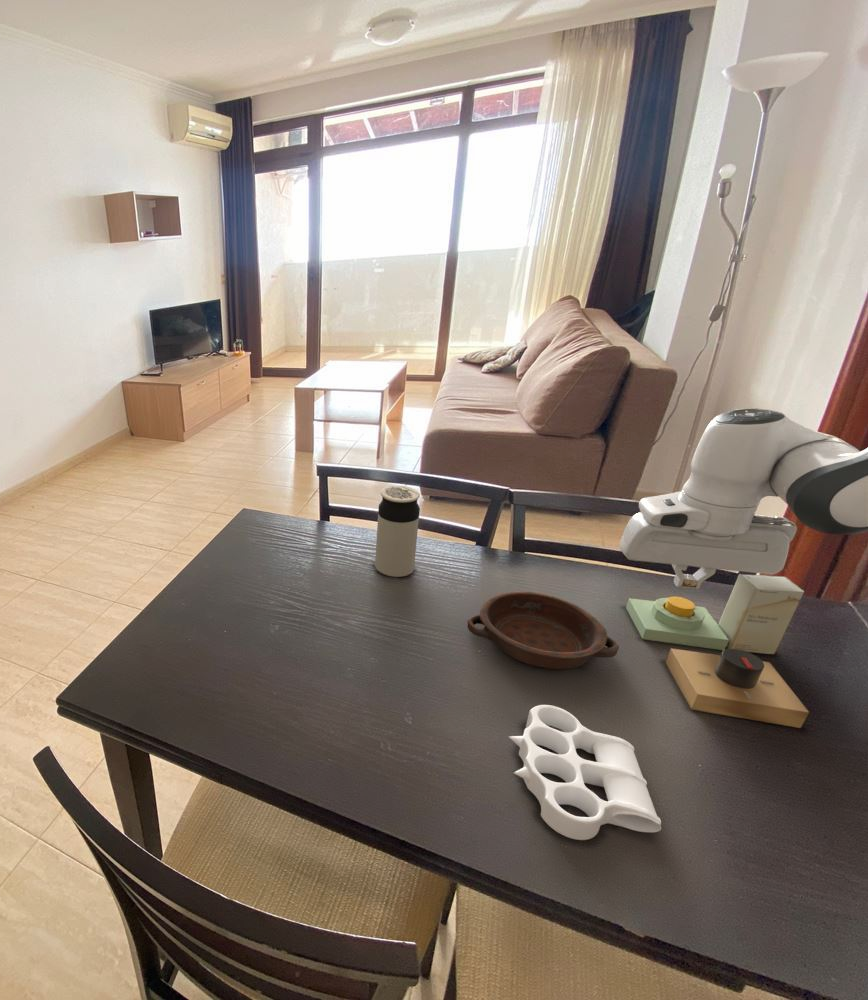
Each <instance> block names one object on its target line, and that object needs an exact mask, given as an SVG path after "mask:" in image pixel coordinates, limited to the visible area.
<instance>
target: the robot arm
mask: <svg viewBox="0 0 868 1000" xmlns="http://www.w3.org/2000/svg"><path fill="white" fill-rule="evenodd" d="M765 497H775V498H780V499H781V500H782V501H783V503H786V505H787V507H788V508H789V509H790V511H791V512H792V513H793V514H794V515H795V517H796V518H797V519H798V521H799V522H800V523H801V524H802V525H804V526H805V527H807V528H809V529H811V530H814V531H816V532H820V533H823V534H829V535H839V536H840V535H841V536H842V535H857V534H864V533H867V532H868V447H867V448H865V449H863V450H861V451H860V450H859V449H858V448H857V447H855V446H854V445H852V444H850V443H848V442H847V441H845V440H843V439H841V438H839V437H837V436H835V435H832V434H827V433H824V432H820V431H816V430H813V429H810V428H807V427H805V426H803V425H802V424H799V423H797V422H795V421H794V420H792V419H790V418H789V417H787V415H786V414H785V413H783V412H781V411H779V410H776V409H775V410H774V409H770V408H757V407H746V408H737V409H731V410H728V411H725V412H722V413H720V414H718V415H716V416H715V417H714V418H713V419H712V420H710V422H709V423H708V425H707V426H706V428H705V429H704V431H703V433H702V435H701V436H700V439H699V441H698V443H697V446H696V448H695V451H694V453H693V456H692V459H691V462H690V475H689V477H688V480H687V481H686V482H685V483H684V484H683V486H682V489H681V490H680V491H675V492H670V493H666V494H660V495H654V496H646V497H643V498H641V499H640V501H639V502H638V509H639V512H638V513H635V514H634V515H632V516H631V517H630V518H629V520H628V522H627V524H626V526H625V528H624V531H623V533H622V536H621V538H620V541H619V548H620V551H621V552H622V554H623V555H624V556H625V557H626V559H627V560H629V561H636V562H637V561H638V562H645V563H656V564H666V565H671V567H672V569H673V571H674V573H675V575H674V578H673V584H674V585H675V587H677V588H685V589H687V588H688V589H695V590H699V589H700V588H701V586H702V583H703V582H704V581H706V580H707V579H709V578H711V577H712V576H714V575H715V574H716V572H717V570H723V571H734V572H743V573H752V574H760V575H770V576H773V575H776V574H778V573H779V572H781V571H783V570H784V568H785V565H786V562H787V558H788V555H789V550H790V543H791V542H792V541H793V540H794V538H795V536H796V534H797V531H798V527H797V525H796V523H795V522H793V521H791V520H789V519H788V517H783V516H769V515H761V514H760V515H759V514H756V513H757V510H758V507H759V505H760V504H761V503H760V502H761V500H762V499H763V498H765ZM688 567H693V568H694V567H695V568H699V569H697V571H695V572H694V573H692V574H691V573H690V574H689V573H684V572H683V571H687V570H688Z"/></svg>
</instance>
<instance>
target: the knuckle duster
mask: <svg viewBox="0 0 868 1000" xmlns="http://www.w3.org/2000/svg"><path fill="white" fill-rule="evenodd" d="M550 726H551V727H550ZM508 738H509V739H510V740H511V741H512V742H513V743H515V745H517V747H519V751H518V756H519V757H520V759H521V761H522V763H523V767H522V768H519V769H517V770H516V771H514V772H513V774H514V775H516V776H517V777H520V778H521V779H523V781H524V783H525V785H526V788H527V790H528V791H530V792H531V793H532V794H533V795H534V796H535V798H536V799H537V800H538V803H539V805H540V817H541V819H542V820H543V821H544V822H545V823H546V825H547V826H548V827H550V829H552V830H554V831H555V832H556V833H558V834H560V835H561V836H563V837H566V838H569V839H571V840H577V841H587V840H591V839H593V838H594V837H596V836H597V835H598V834H599V832H600V828H601V826H603V825H606V824H609V825H614V826H618V827H621V828H625V829H629V830H631V831H635V832H641V833H657V832H658V833H659V832H660V831H662V826H661V825H662V821H661V818H660V817H659V816H658V815H657V812H656V809H655V806H654V803H653V800H652V798H651V795H650V792H649V790H648V787H647V785H648V782H647V780H646V779H645V778H644V776H643V774H642V771H641V768H640V765H639V762H638V759H637V756H636V754H635V747H634V745H632V744H631V743H630V742H629V741H627V740H625V738H622V737H618V736H615V735H610V734H606V733H601V732H597V731H593V730H591V729H589V728H587V727H585V726H584V725H582V723H581V722H580V721H579V720H578V718H577V717H576V716H574V715H573V714H572V713H571V712H569V711H567V710H566V709H564V708H561V707H558V706H556V705H550V704H538V705H536V706H534V707H532V708H531V709H530V710H529V711H528V716H527V719H526V725H525V728H524V730H523V734H522V735H511V736H508ZM540 746H542V747H545V748H547V749H549V750H552V751H553V752H550V751H549V750H546V749H543V748H542V747H540ZM578 749H579V750H580V749H581V750H582V751H585V752H586V753H588V754H592V755H594V757H595V760H596V761H593V760H588V759H584V758H583V757H581V756H579V754H578V753H577V750H578ZM554 752H555V753H554ZM542 774H548V775H549V774H550V775H553V776H557V777H558V778H560V779H562V780H563V781H565V782H556V781H553V780H550V779H548V778H547V777H545V776H543V775H542ZM585 784H588V785H592V786H597V787H600V788H601V787H602V788H603V789H604V792H605V794H606V799H607V801H606V800H604V799H602V798H600V797H599V796H598V795H597V794H596V793H595V792H594V791H593V790H590V789H589V788H588V787H587V786H586V785H585ZM560 805H568V806H572V807H575V808H577V809H579V810H581V811H582V812H584V813H585V814H586V815H587V816H577V815H574V814H571V813H570V812H567V811H566V810H565V809H564V808H562V807H561V806H560Z"/></svg>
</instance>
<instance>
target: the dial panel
mask: <svg viewBox="0 0 868 1000" xmlns="http://www.w3.org/2000/svg"><path fill="white" fill-rule="evenodd" d="M720 657H721V654H713V653H706V652H698V651H693V650H684V649H679V648H678V649H677V648H670V650H669V653H668V655H667V658H666V661H665V665H666V666H667V668H668V670H669V672H670V674H671V675H672V677H673V679H674V681H675V682H676V685H677V686H678V688H679V689H680V691H681V693H682V695H683V697H684V698H685V700H686V702H687V704H688V706H689V708H690V710H694V711H697V712H698V711H699V712H704V713H711V714H715V715H721V716H726V717H733V718H739V719H743V720H744V719H746V720H751V721H757V722H762V723H768V724H773V725H774V724H775V725H780V726H786V727H791V728H797V729H802V727H803V725H804V723H805V721H806V719H807V717H809V713H810V711H809V710H808V709H807V707H806V706H805V705H804V703H802V701H801V700H800V699H799V697H798V696H797V695H796V694H795V692H794V691H793V689H791V687H790V686H789V685H788V683H787V682H786V681H785V680H784V678H783V677H782V676H781V675H780V673H778V671H777V670H776V668H775V667H774V666H773V665H772V663H771V662H769V661H763V660H762V662H763V663H764V668H763V671H762V673H761V675H760V677H759V679H758V681H757V683H756V685H755V687H753V688H739V687H736V686H733V685H730V684H728V683H726V682H724V681H723V680H721V679H720V678H719V677H718V676H717V675H716V674H715V668H716V666H717V664H718V661H719V659H720Z"/></svg>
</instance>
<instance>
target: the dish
mask: <svg viewBox="0 0 868 1000" xmlns="http://www.w3.org/2000/svg"><path fill="white" fill-rule="evenodd" d="M466 622H467V629H468V631H469V632H470V634H471V633H472V634H473V635H474V636H476V637H478V638H483V639H485V640H488V641H490V642H492V643H493V644H494V645H495V646H496V647H497V648H498V649H499V650H500V651H502V652H503V653H505V654H506V655H507V656H508V657H511V658H513V659H515V660H517V661H520V662H522V663H525V664H527V665H531V666H534V667H539V668H544V669H549V670H566V669H567V670H569V669H575V668H578V667H580V666H582V665H583V664H585V663H587V662H588V661H589V660H590V659H592V658H594V657H595V658H614V657H615V656H616V655H617V654H618V650H619V649H620V646H619V644H618V642H617V641H616V640H615V639H613V638H611V637H610V636H608V633H607V630H606V628H605V626H604V625H603V624H602V623H601V622H600V621H599V620H598V619H597V618H596V616H594V615H593V614H592V613H590V612H588V611H587V610H585V609H584V608H582V607H580V606H579V605H577V604H574V603H572V602H570V601H568V600H566V599H563V598H559V597H557V596H554V595H550V594H547V593H541V592H536V591H528V590H520V591H516V590H515V591H507V592H501V593H497V594H496V595H493V596H490V597H489V598H488V599H487V600H486V601H484V603H482V606H481V607H480V610H479V614H475V615H473V616H471V617H469V618H468V620H467V621H466ZM476 625H483V626H484V627H481V628H480V627H477V626H476Z"/></svg>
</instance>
